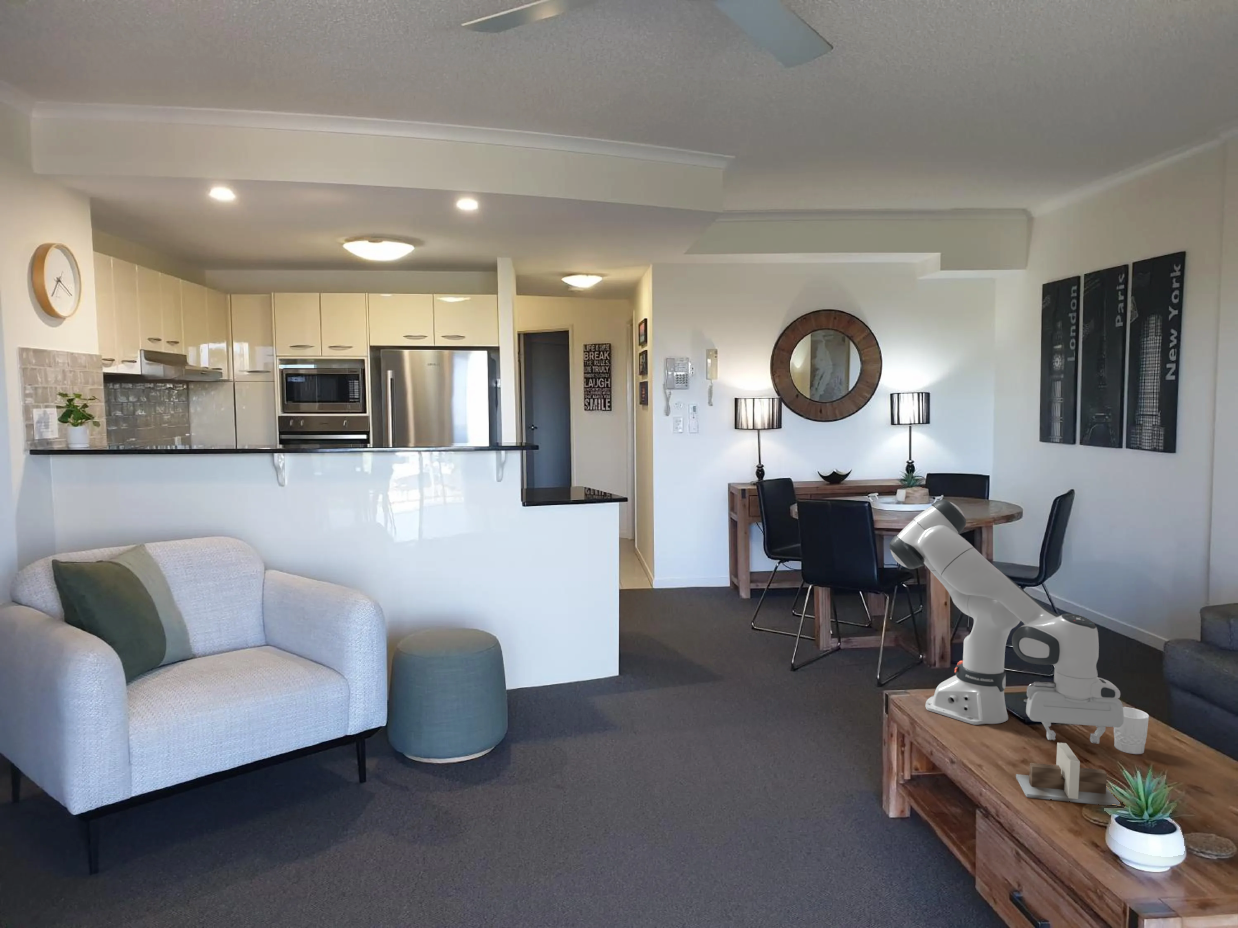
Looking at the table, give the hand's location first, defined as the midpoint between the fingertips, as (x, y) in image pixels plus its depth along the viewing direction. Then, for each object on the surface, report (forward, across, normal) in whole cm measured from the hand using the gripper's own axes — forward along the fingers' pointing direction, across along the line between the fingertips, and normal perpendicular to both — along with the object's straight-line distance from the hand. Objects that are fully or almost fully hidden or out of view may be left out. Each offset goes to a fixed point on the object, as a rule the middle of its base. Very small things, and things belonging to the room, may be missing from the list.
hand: (1072, 740), depth 189 cm
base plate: (+12, -1, 0) cm, 13 cm away
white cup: (+13, +23, +28) cm, 39 cm away
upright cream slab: (+12, -1, 0) cm, 12 cm away
